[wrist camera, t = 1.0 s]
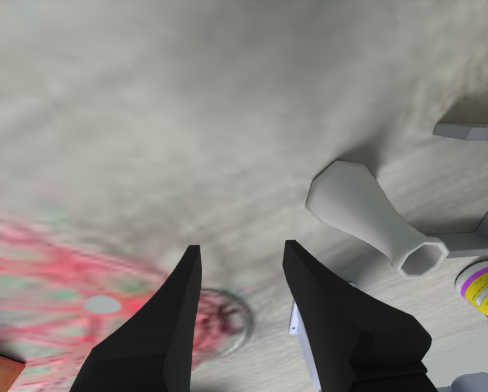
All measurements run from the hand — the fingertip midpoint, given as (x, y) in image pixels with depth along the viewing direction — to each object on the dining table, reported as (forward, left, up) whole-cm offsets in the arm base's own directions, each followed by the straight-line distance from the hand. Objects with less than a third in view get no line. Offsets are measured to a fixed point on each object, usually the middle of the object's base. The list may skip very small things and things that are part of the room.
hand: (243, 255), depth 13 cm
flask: (0, -11, -9) cm, 14 cm away
